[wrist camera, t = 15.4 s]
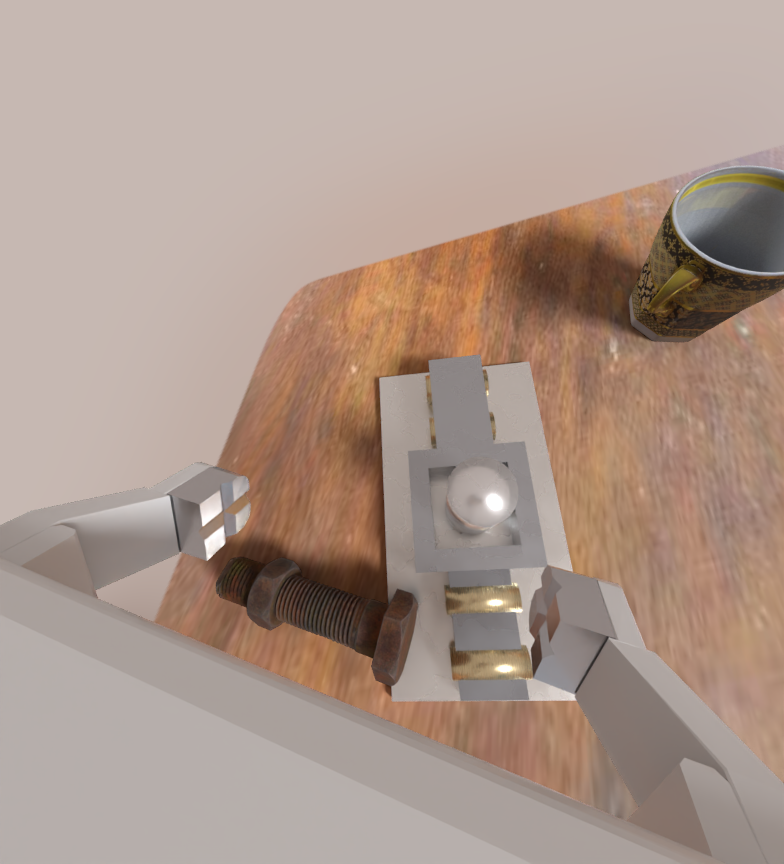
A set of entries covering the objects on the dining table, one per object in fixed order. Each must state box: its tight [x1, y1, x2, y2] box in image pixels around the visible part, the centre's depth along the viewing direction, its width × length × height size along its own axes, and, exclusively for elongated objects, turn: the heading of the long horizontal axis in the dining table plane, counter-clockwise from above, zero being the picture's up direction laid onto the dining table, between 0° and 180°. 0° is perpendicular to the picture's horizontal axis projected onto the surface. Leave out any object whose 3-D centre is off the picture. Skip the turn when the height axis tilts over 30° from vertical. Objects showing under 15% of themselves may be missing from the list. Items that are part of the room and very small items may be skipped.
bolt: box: [216, 557, 418, 686], centre depth 26 cm, size 6×5×15 cm
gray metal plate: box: [379, 355, 576, 701], centre depth 27 cm, size 14×26×4 cm, turn 3°
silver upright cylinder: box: [445, 457, 519, 535], centre depth 24 cm, size 4×4×9 cm
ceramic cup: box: [629, 166, 784, 342], centre depth 28 cm, size 13×10×10 cm
